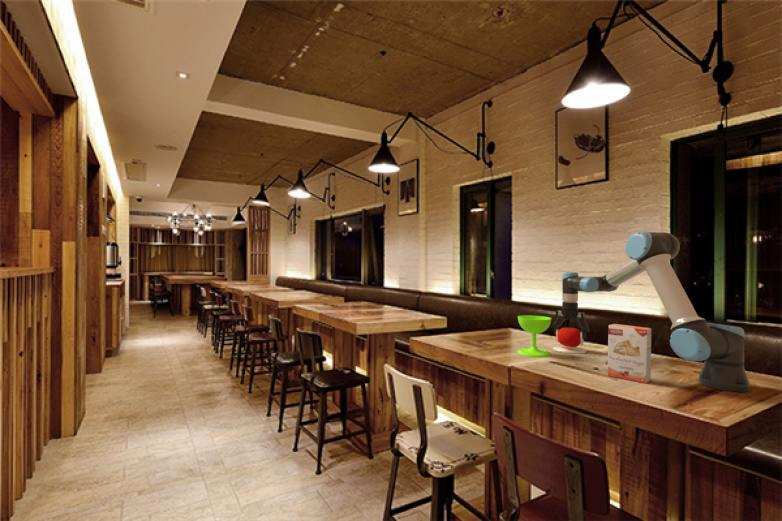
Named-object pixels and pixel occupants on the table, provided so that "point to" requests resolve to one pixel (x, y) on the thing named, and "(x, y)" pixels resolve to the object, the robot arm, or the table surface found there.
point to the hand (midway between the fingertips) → (569, 343)
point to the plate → (569, 349)
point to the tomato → (569, 337)
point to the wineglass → (534, 333)
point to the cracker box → (629, 352)
